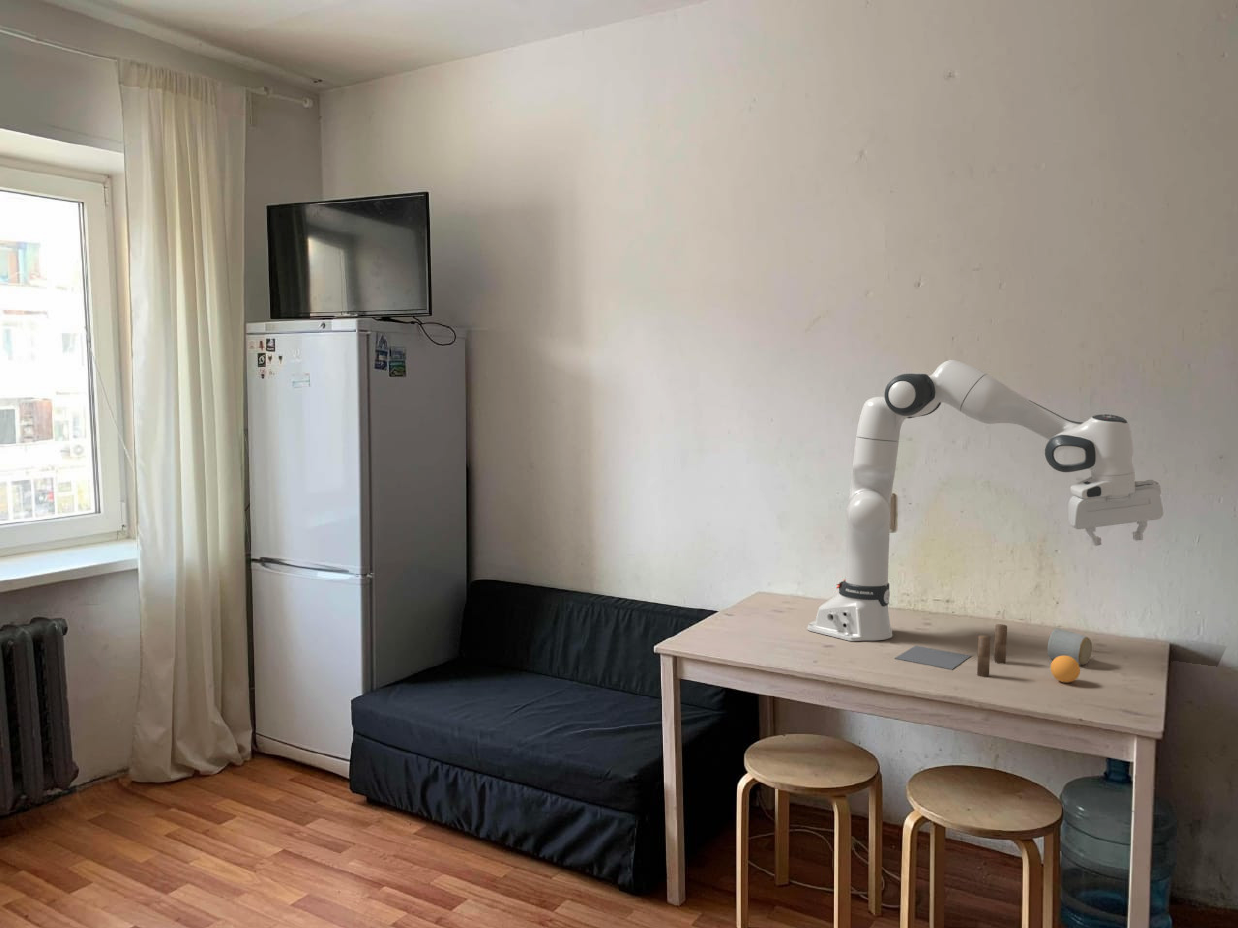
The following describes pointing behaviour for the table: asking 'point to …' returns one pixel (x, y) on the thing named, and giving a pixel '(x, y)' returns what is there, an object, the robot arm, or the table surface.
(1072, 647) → the grey cylinder
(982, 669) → the post near
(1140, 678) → the table surface
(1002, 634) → the post far
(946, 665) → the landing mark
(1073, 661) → the ball
